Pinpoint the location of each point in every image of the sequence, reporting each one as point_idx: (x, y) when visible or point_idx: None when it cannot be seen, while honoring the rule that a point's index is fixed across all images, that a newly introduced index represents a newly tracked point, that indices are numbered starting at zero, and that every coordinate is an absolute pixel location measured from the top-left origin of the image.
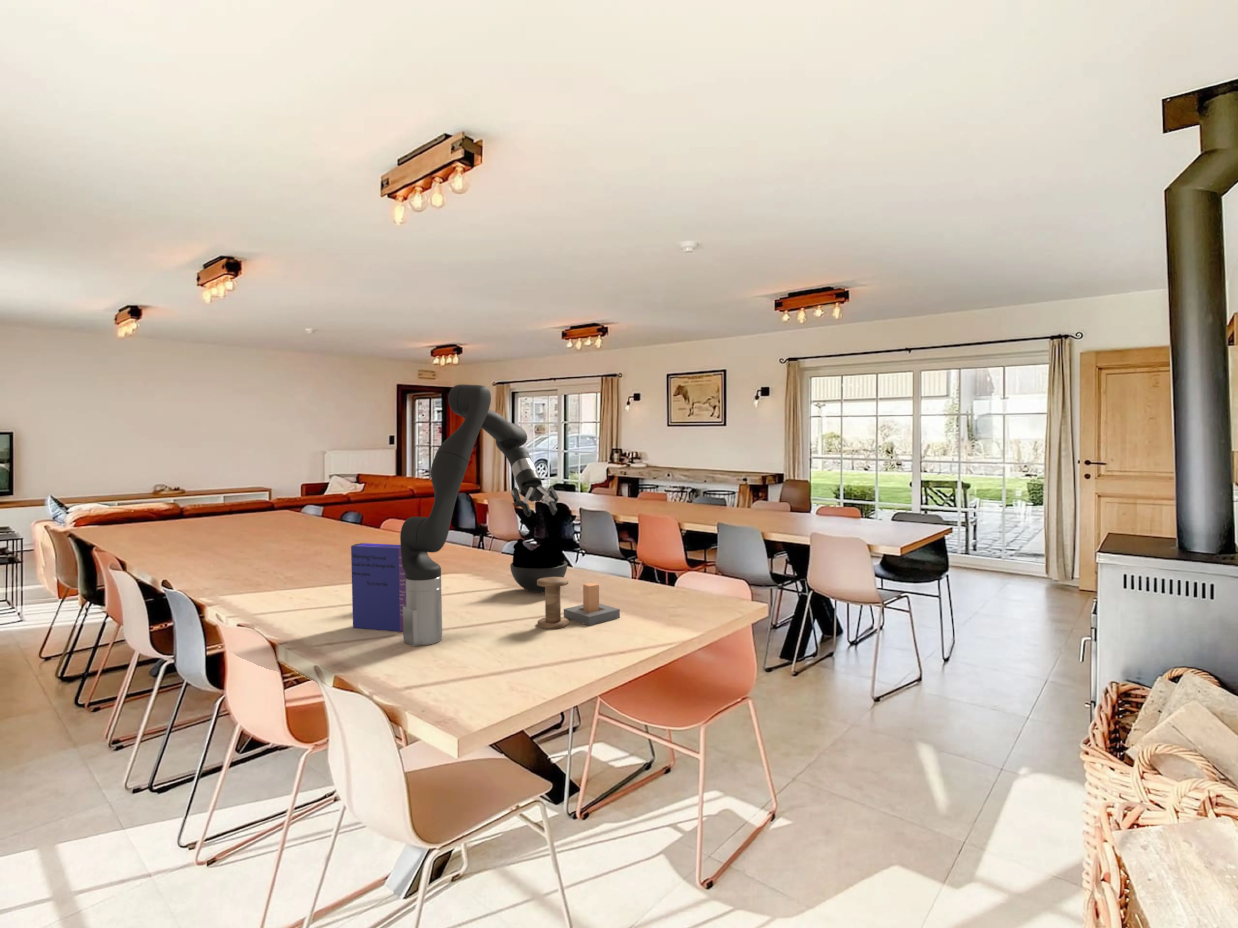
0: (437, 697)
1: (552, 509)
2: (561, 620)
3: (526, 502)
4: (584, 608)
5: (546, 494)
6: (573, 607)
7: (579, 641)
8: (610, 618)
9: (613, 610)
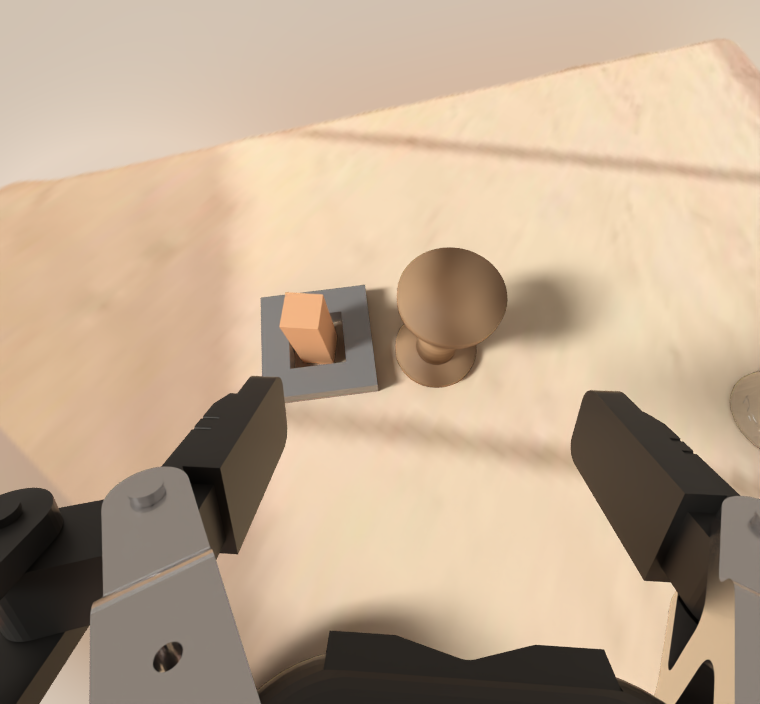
0: (753, 133)
1: (267, 427)
2: (414, 339)
3: (730, 507)
4: (331, 349)
5: (165, 614)
6: (345, 383)
7: (444, 220)
8: None
9: (281, 297)
